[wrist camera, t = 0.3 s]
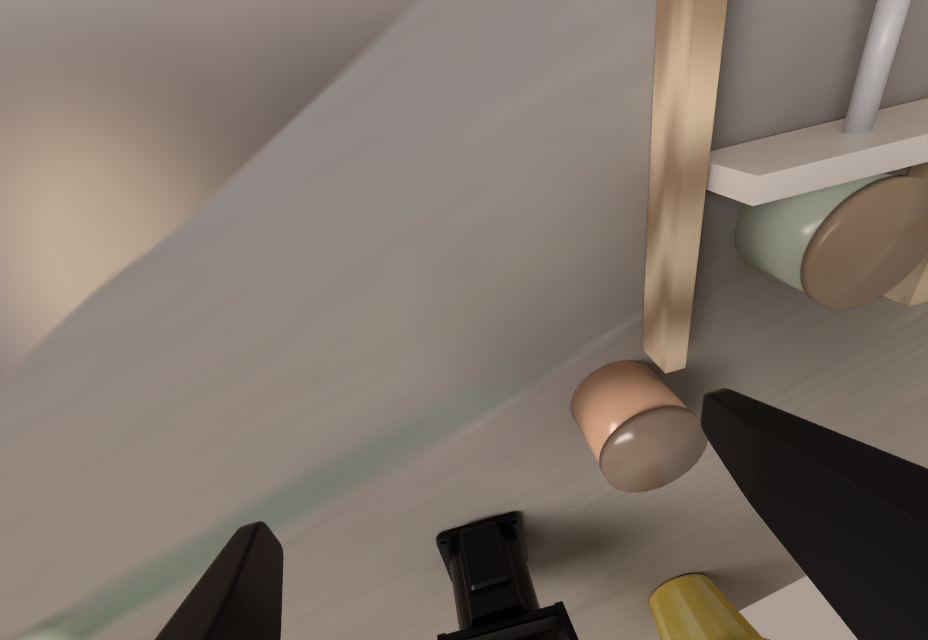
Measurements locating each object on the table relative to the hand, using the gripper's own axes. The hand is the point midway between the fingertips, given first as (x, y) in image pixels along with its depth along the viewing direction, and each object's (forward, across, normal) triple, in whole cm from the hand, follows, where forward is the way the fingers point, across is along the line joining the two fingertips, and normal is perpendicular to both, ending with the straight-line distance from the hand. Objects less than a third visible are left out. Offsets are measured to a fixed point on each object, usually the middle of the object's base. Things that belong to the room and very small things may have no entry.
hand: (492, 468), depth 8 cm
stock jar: (+14, -20, +4) cm, 24 cm away
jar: (+14, -10, +14) cm, 22 cm away
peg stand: (+14, -20, -3) cm, 24 cm away
